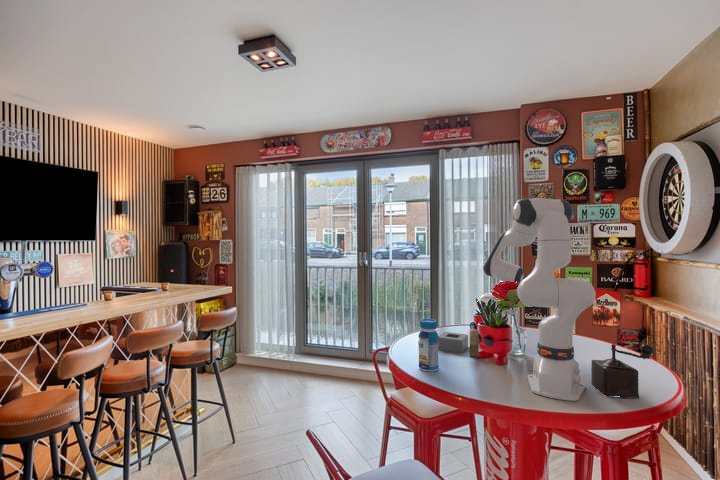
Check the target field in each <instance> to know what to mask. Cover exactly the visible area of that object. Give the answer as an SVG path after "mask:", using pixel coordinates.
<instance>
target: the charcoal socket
mask: <svg viewBox="0 0 720 480" xmlns="http://www.w3.org/2000/svg"><path fill="white" fill-rule="evenodd" d="M438 337H439V338H438V342H439V346H438V351H445V352H453V353H459V354H463V353H464V352H465V351H466V350H467V348H468V347H469V334H466V333H457V332H450V331H449V332H448V331H444V332H442V333H441V334H440V335H439V334H438Z"/></svg>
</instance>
